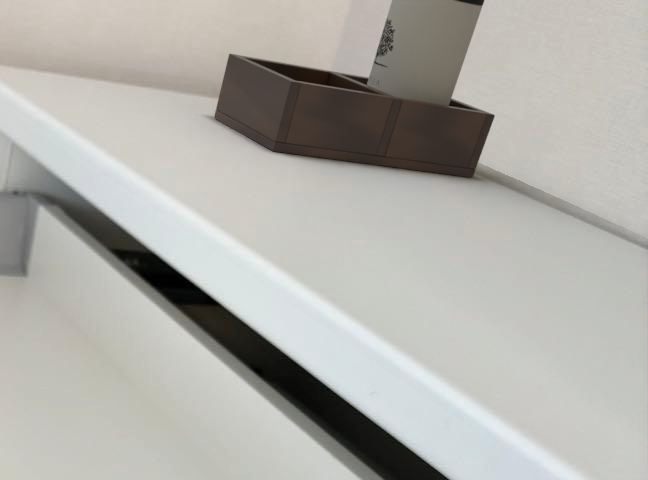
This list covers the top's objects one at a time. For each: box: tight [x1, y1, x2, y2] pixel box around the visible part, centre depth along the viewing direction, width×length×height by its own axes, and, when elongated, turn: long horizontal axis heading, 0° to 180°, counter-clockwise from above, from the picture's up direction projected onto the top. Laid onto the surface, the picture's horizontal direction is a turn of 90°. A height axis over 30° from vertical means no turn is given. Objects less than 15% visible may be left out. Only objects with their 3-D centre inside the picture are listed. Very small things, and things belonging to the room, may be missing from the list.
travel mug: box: [367, 0, 485, 106], centre depth 102 cm, size 8×8×18 cm
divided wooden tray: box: [213, 53, 496, 179], centre depth 103 cm, size 23×12×6 cm, turn 112°
